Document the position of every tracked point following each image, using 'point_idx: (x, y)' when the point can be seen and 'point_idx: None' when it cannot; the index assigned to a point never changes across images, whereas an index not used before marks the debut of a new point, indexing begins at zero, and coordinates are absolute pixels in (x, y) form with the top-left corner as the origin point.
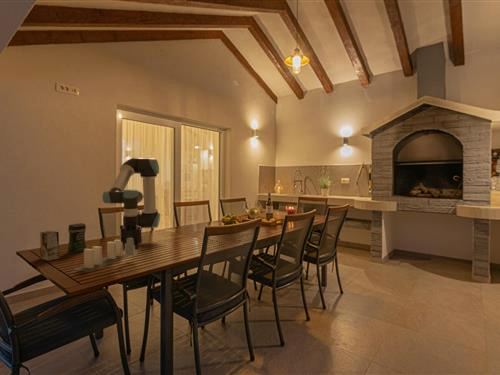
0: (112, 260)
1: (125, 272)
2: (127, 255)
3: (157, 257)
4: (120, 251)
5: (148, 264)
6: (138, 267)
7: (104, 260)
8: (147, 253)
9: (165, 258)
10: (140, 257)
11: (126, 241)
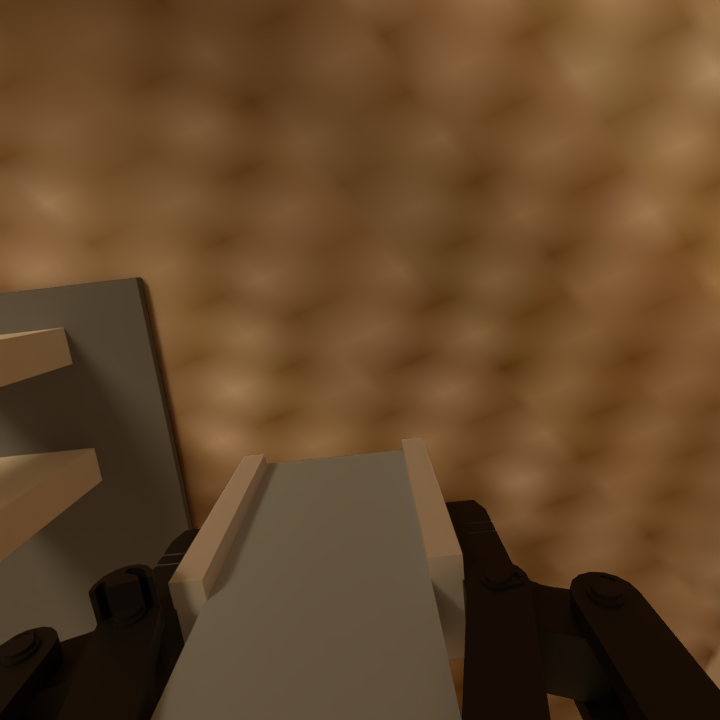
0: (127, 523)
1: (558, 710)
2: (107, 286)
3: (565, 151)
4: (8, 382)
5: (631, 446)
6: (585, 565)
7: (42, 556)
8: (271, 33)
9: (713, 141)
10: (329, 257)
11: (159, 668)
